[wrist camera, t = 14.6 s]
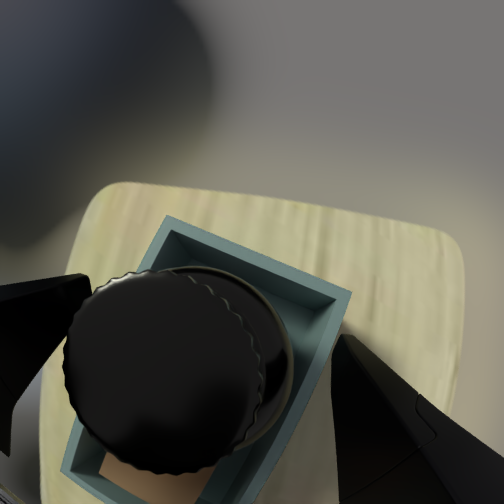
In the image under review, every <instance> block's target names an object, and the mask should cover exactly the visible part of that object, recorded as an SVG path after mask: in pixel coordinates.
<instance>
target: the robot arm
mask: <svg viewBox="0 0 504 504" xmlns="http://www.w3.org/2000/svg"><path fill="white" fill-rule="evenodd" d="M91 295H92V290H91V284H90V279H89V277H88V276H87V275H84V274H81V273H77V274H71V275H64V276H58V277H52V278H46V279H39V280H32V281H26V282H19V283H13V284H7V285H0V451H2V452H3V453H4V454H5V455H6V456H8V457H9V456H10V450H11V449H10V447H11V426H12V414H13V410H14V407H15V405H16V403H17V401H18V400H19V398H20V397H21V396H22V394H23V393H24V391H25V390H26V388H27V387H28V386H29V384H30V383H31V381H32V380H33V379H34V377H35V376H36V374H37V373H38V372H39V370H40V369H41V368H42V366H43V365H44V364H45V362H46V361H47V360H48V358H49V357H50V356H51V355H52V353H53V352H54V351H55V349H56V348H57V347H58V346H59V344H60V343H61V342H62V340H63V339H64V338H65V337H66V335H67V330H68V328H69V327H70V326H71V325H72V321H73V316H74V314H75V313H76V312H77V311H78V310H79V309H80V308H81V305H82V303H83V301H84V300H85V299H86V298H88V297H90V296H91ZM418 394H419V393H418V392H417V391H416V390H415V389H414V388H413V387H411V386H410V385H409V384H408V383H407V382H406V381H405V380H403V379H402V378H401V377H400V376H399V375H398V374H397V373H396V372H394V371H393V370H392V369H391V368H390V367H389V366H388V365H386V364H385V363H384V362H383V361H382V360H381V359H380V358H378V357H377V356H376V355H375V354H374V353H373V352H372V351H370V350H369V349H368V348H367V347H366V346H365V345H364V344H363V343H361V342H360V341H359V340H358V339H357V338H356V337H355V336H353V335H350V334H341V335H340V337H339V339H338V341H337V343H336V345H335V347H334V350H333V352H332V358H331V399H332V409H333V419H334V430H335V442H336V455H337V471H338V490H339V502H340V503H339V504H504V458H503V457H502V456H501V455H499V454H498V453H496V452H495V451H494V450H492V449H491V448H490V447H488V446H487V445H486V444H484V443H482V442H481V441H480V440H479V439H477V438H476V437H475V436H473V435H472V434H471V433H469V432H468V431H466V430H465V429H464V428H462V427H461V426H460V425H458V424H457V423H456V422H454V421H453V420H452V419H450V418H449V417H448V416H446V415H445V414H444V413H442V412H441V411H440V410H439V409H437V408H436V407H435V406H434V405H433V404H431V403H430V402H429V401H428V400H427V399H426V398H424V397H423V396H422V395H421V394H419V395H418ZM0 504H26V503H24V502H23V501H22V500H20V499H19V498H18V497H16V496H15V495H14V494H13V493H12V492H10V491H9V490H8V489H7V488H6V487H4V486H3V485H2V484H1V483H0Z"/></svg>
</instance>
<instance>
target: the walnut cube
mask: <svg viewBox="0 0 504 504" xmlns="http://www.w3.org/2000/svg"><path fill="white" fill-rule="evenodd" d="M216 466H217V465H216ZM216 466H214V467H206V468H203V469H202V470H201V471H199V472H198V473H183V474H181V475H179V476H174V475H170V474H167V473H166V474H161V475H156V474H154V473H152V472H150V471H141V470H137V469H135V468H134V467H133V466H131V465H130V464H126V463H122V462H120V461H119V460H118V459H117V458H116V457H115V456H114V455H113V454H111V453H108V452H107V453H106V455H105V458H104V461H103V463H102V466H101V468H100V471H99V474H101V475H102V476H104V477H105V478H107V479H108V480H110V481H112V482H113V483H115V484H116V485H118V486H120V487H121V488H123V489H125V490H126V491H128V492H130V493H131V494H133V495H135V496H137V497H139V498H140V499H142V500H144V501H146V502H148V503H150V504H195V502H196V501H197V499H198V497H199V496H200V494H201V492H202V490H203V489H204V487H205V485H206V483H207V482H208V480H209V478H210V476H211V475H212V473H213V471H214V469H215V467H216Z"/></svg>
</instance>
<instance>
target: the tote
mask: <svg viewBox="0 0 504 504" xmlns="http://www.w3.org/2000/svg"><path fill="white" fill-rule="evenodd" d="M178 266H206V267H211V268H216V269H220V270H223V271H226V272H228V273H231V274H233V275H235V276H237V277H239V278H241V279H243V280H245V281H246V282H248V283H249V284H251V285H252V286H253V287H255V288H256V289H257V290H258V291H260V292H261V293H262V294H263V295H264V296H265V297H266V298H267V299H268V301H269V302H270V303H271V304H272V305H273V307H274V308H275V310H276V311H277V312H278V314H279V315H280V317H281V319H282V321H283V323H284V325H285V327H286V330H287V332H288V335H289V338H290V341H291V345H292V350H293V357H294V376H293V384H292V388H291V393H290V395H289V398H288V401H287V403H286V406H285V408H284V410H283V412H282V413H281V415H280V416H279V418H278V419H277V421H276V422H275V423H274V425H273V426H272V427H271V428H270V429H269V430H268V431H267V432H266V433H265V434H264V435H263V436H262V437H260V438H259V439H258V440H256V441H255V442H253V443H252V444H250V445H249V446H247V447H245V448H243V449H241V450H238V451H236V452H233V454H232V455H231V456H229V457H226V458H223V459H220V461H219V462H218V464H217V466H216V467H215V469H214V471H213V473H212V475H211V476H210V478H209V480H208V482H207V483H206V485H205V487H204V489H203V490H202V492H201V494H200V496H199V497H198V499H197V501H196V502H195V504H252V503H253V502H254V500H255V498H256V497H257V495H258V494H259V492H260V490H261V489H262V487H263V485H264V484H265V482H266V480H267V479H268V477H269V475H270V474H271V472H272V470H273V468H274V467H275V465H276V463H277V461H278V460H279V458H280V456H281V454H282V452H283V451H284V449H285V447H286V445H287V443H288V441H289V439H290V437H291V436H292V434H293V432H294V430H295V428H296V426H297V424H298V422H299V420H300V418H301V416H302V414H303V412H304V409H305V407H306V405H307V403H308V401H309V399H310V397H311V395H312V392H313V390H314V388H315V386H316V384H317V381H318V379H319V377H320V374H321V372H322V370H323V368H324V365H325V363H326V360H327V358H328V356H329V353H330V351H331V348H332V346H333V343H334V341H335V338H336V336H337V333H338V330H339V328H340V325H341V322H342V320H343V317H344V314H345V312H346V309H347V306H348V303H349V300H350V297H351V294H352V292H351V291H349V290H346V289H344V288H341V287H339V286H337V285H334V284H332V283H330V282H327V281H325V280H322V279H320V278H318V277H315V276H313V275H310V274H308V273H306V272H303V271H301V270H298V269H296V268H294V267H291V266H289V265H286V264H284V263H282V262H279V261H277V260H274V259H272V258H270V257H267V256H265V255H263V254H260V253H258V252H255V251H253V250H251V249H248V248H246V247H243V246H241V245H239V244H236V243H234V242H231V241H229V240H227V239H224V238H222V237H219V236H217V235H215V234H212V233H210V232H207V231H205V230H203V229H200V228H198V227H195V226H193V225H190V224H188V223H186V222H183V221H181V220H178V219H176V218H174V217H171V216H169V215H166V217H165V219H164V220H163V222H162V224H161V226H160V228H159V229H158V231H157V233H156V235H155V237H154V239H153V240H152V242H151V244H150V246H149V248H148V250H147V252H146V254H145V256H144V257H143V259H142V261H141V263H140V265H139V267H138V269H137V271H136V273H140V272H142V271H144V270H147V269H151V270H154V271H156V272H158V271H161V270H164V269H168V268H172V267H178ZM106 453H107V452H106V451H104V450H103V448H102V447H101V446H100V444H99V443H98V442H97V441H95V440H94V439H93V438H91V437H90V435H89V434H88V432H87V430H86V428H85V427H84V426H83V425H82V424H81V423H80V422H79V420H78V417H77V415H76V418H75V421H74V424H73V427H72V430H71V434H70V437H69V440H68V444H67V447H66V451H65V454H64V458H63V462H62V465H61V469H60V471H61V472H62V473H63V474H64V475H66V476H67V477H68V478H70V479H71V480H72V481H74V482H75V483H76V484H78V485H79V486H80V487H82V488H83V489H85V490H86V491H87V492H89V493H90V494H92V495H93V496H95V497H96V498H98V499H99V500H101V501H103V502H104V503H106V504H150V503H148V502H146V501H144V500H142V499H140V498H139V497H137V496H135V495H133V494H131V493H130V492H128V491H126V490H125V489H123V488H121V487H120V486H118V485H116V484H115V483H113V482H112V481H110V480H108V479H107V478H105V477H104V476H102V475H101V474H99V471H100V468H101V466H102V463H103V461H104V458H105V455H106Z"/></svg>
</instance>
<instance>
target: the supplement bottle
mask: <svg viewBox="0 0 504 504" xmlns="http://www.w3.org/2000/svg"><path fill="white" fill-rule="evenodd" d="M63 354H64V361H63V365H62V368H63V372H64V375H65V388H66V390H67V391H68V394H69V400H70V404H71V406H72V407H73V408H74V410H75V411H76V414H77V417H78V420H79V422H80V423H81V424H82V425H83V426H84V427H85V428H86V430H87V432H88V434H89V435H90V437H91V438H93V439H94V440H95V441H97V442H98V443H99V444H100V446H101V447H102V448H103V450H104V451H106V452H108V453H111V454H113V455H114V456H115V457H116V458H117V459H118V460H119V461H120V462H122V463H126V464H130V465H131V466H133V467H134V468H135V469H137V470H141V471H150V472H152V473H154V474H156V475H161V474H166V473H167V474H170V475H174V476H179V475H181V474H183V473H198V472H199V471H201V470H202V469H203V468H206V467H214V466H216V465H217V464H218V462H219V461H220V459H223V458H226V457H229V456H231V455H232V454H233V452H236V451H238V450H241V449H243V448H245V447H247V446H249V445H250V444H252V443H253V442H255V441H256V440H258V439H259V438H260V437H262V436H263V435H264V434H265V433H266V432H267V431H268V430H269V429H270V428H271V427H272V426H273V425H274V423H275V422H276V421H277V419H278V418H279V416H280V415H281V413H282V412H283V410H284V408H285V406H286V403H287V401H288V398H289V395H290V393H291V388H292V384H293V376H294V357H293V350H292V345H291V341H290V338H289V335H288V332H287V330H286V327H285V325H284V323H283V321H282V319H281V317H280V315H279V314H278V312H277V311H276V310H275V308H274V307H273V305H272V304H271V303H270V302H269V301H268V299H267V298H266V297H265V296H264V295H263V294H262V293H261V292H260V291H258V290H257V289H256V288H255V287H253V286H252V285H251V284H249V283H248V282H246V281H245V280H243V279H241V278H239V277H237V276H235V275H233V274H231V273H228V272H226V271H223V270H220V269H216V268H211V267H206V266H178V267H172V268H168V269H164V270H161V271H158V272H156V271H154V270H151V269H147V270H144V271H142V272H140V273H136V272H128V273H126V274H125V275H124V276H122V277H121V278H111V279H110V280H109V281H108V282H107V283H106V285H104V286H100V287H97V288H96V289H95V291H94V293H93V294H92V295H91V296H90V297H88V298H86V299H85V300H84V301H83V303H82V305H81V308H80V309H79V310H78V311H77V312H76V313H75V314H74V316H73V321H72V325H71V326H70V327H69V328H68V330H67V340H66V343H65V345H64V347H63Z"/></svg>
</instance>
